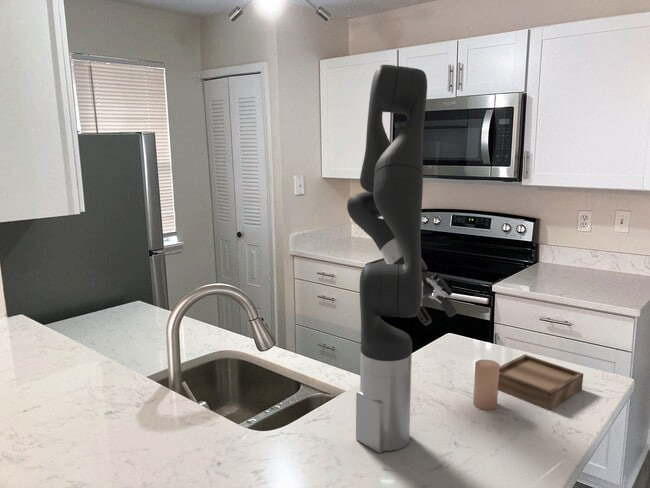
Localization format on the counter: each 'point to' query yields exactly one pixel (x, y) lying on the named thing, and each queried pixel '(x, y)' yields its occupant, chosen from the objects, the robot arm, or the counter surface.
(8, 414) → the counter surface
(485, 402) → the tan cylinder
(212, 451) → the counter surface
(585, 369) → the counter surface
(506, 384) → the square brown tray
